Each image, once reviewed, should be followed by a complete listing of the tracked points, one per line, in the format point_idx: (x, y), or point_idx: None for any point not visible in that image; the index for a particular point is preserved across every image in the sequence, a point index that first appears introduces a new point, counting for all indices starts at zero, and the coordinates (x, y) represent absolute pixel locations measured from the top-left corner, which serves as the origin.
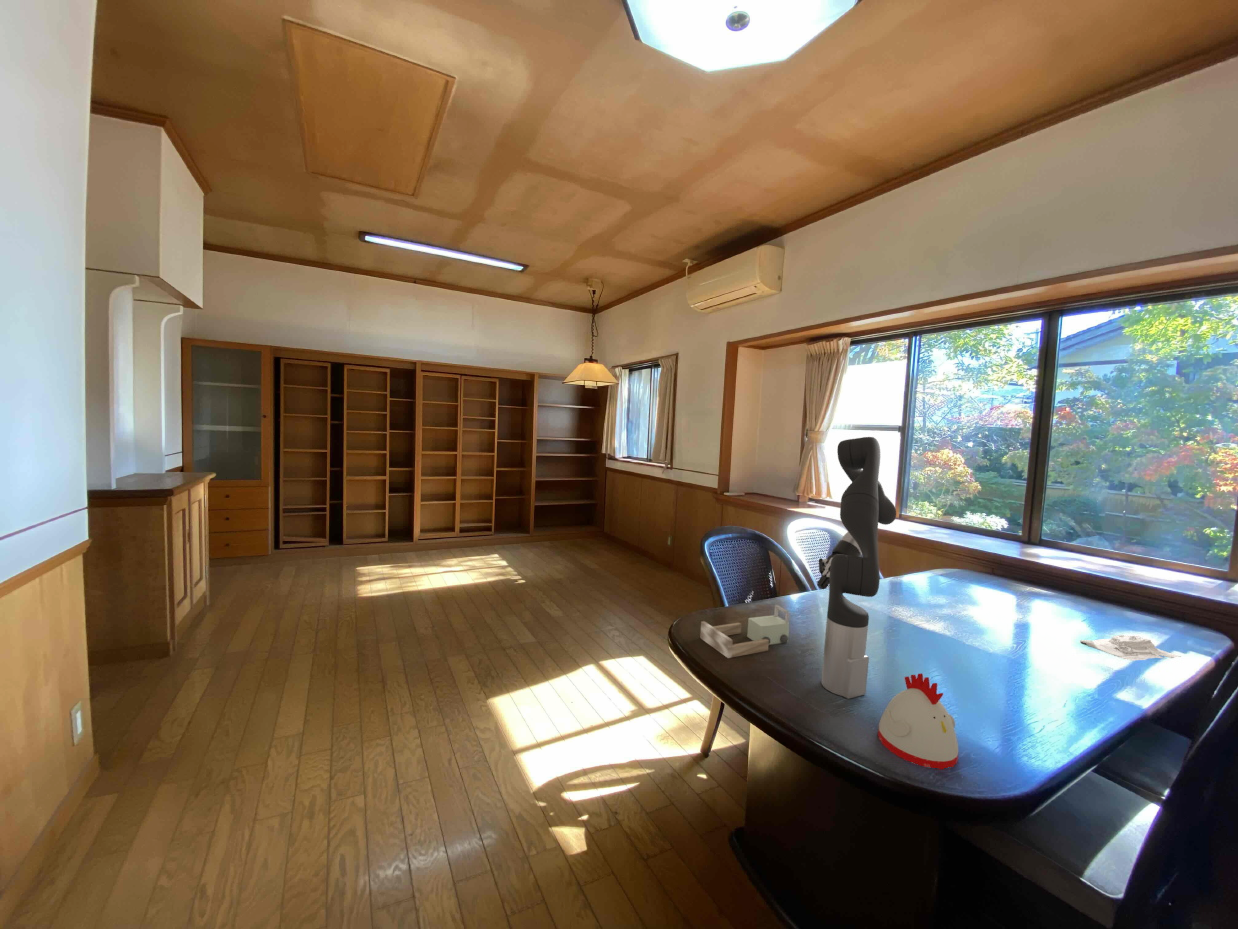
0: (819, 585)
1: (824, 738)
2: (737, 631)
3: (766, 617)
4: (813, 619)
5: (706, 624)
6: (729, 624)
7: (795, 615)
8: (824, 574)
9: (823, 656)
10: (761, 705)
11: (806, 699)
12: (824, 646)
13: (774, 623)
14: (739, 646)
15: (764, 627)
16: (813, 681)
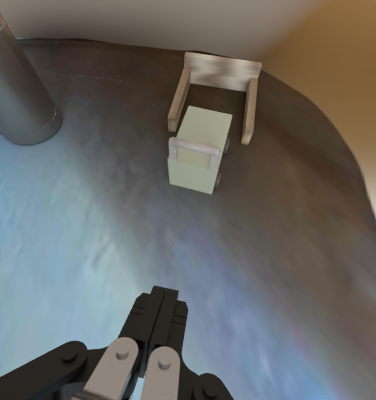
0: (162, 287)
1: (23, 45)
2: (242, 133)
3: (217, 144)
4: (226, 387)
5: (248, 61)
6: (252, 113)
7: (274, 357)
8: (158, 354)
9: (38, 76)
10: (94, 43)
11: (62, 77)
12: (26, 56)
13: (185, 133)
14: (181, 76)
15: (186, 112)
16: (71, 111)
